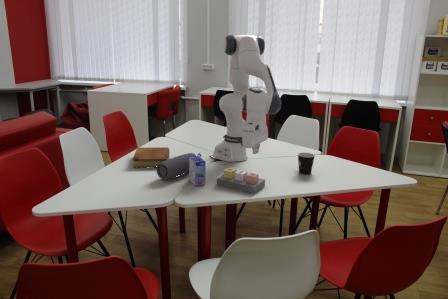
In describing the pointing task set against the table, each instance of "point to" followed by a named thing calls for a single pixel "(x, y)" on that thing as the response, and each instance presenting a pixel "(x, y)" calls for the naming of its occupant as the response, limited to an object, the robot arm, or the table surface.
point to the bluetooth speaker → (174, 166)
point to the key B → (240, 175)
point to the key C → (252, 178)
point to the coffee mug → (305, 163)
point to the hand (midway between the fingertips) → (255, 153)
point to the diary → (150, 157)
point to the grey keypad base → (241, 184)
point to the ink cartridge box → (197, 170)
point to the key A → (229, 173)
